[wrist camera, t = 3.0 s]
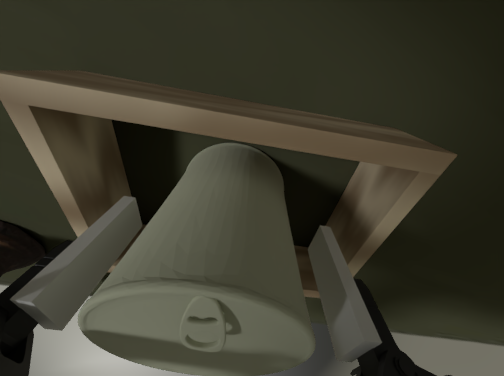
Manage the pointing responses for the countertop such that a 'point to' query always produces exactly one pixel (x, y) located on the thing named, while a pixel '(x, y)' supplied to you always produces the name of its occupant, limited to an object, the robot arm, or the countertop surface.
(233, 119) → the wooden frame
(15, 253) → the mortar and pestle
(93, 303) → the can
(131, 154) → the countertop surface
